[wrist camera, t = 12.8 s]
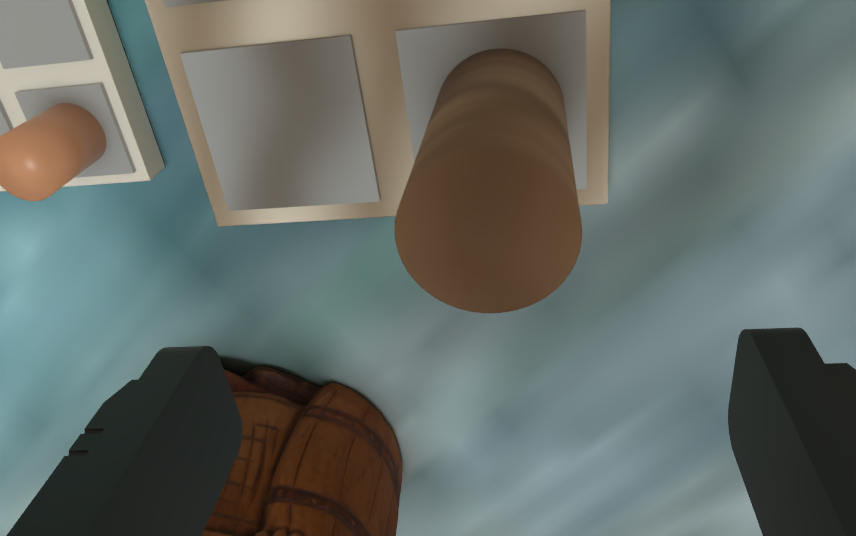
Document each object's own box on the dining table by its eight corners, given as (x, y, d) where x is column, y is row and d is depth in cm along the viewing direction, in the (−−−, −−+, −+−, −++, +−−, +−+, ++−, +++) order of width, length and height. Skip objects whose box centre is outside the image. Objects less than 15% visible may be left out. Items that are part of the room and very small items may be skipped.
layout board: (229, 211, 26) (215, 229, 25) (90, -238, 19) (61, -243, 18) (604, 188, 24) (608, 206, 22) (609, -335, 16) (616, -348, 15)
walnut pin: (444, 176, 23) (409, 316, 16) (428, 55, 21) (379, 157, 14) (566, 167, 22) (583, 309, 15) (562, 41, 20) (580, 141, 13)
